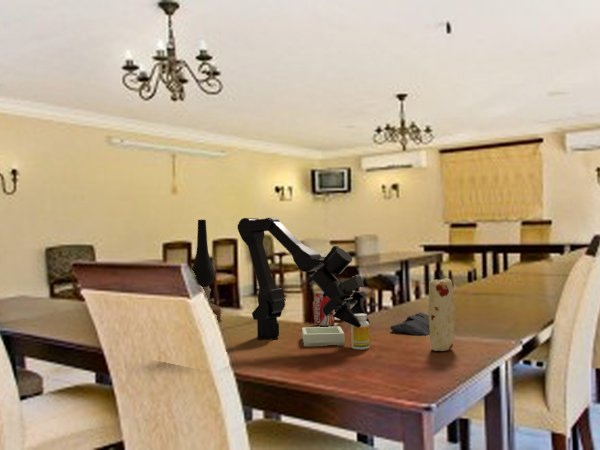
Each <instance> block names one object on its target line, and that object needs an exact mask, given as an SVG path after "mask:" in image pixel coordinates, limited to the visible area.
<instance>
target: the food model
mask: <svg viewBox="0 0 600 450" xmlns="http://www.w3.org/2000/svg"><path fill="white" fill-rule="evenodd" d="M428 284H429V286H428V288H429V289H428V290H429V291H428V312H427V313H428V314H427V315H429V328H430V335H429V342H430V343H429V344H430V345H429V346H430V350H431V351H432V350H433V351H435V352H437V351H439V352H444V351H445V352H446V351H449V350H451V349H453V347H454V344H453V343H454V333H455V323H456V307H455V298H454V297H455V296H454V288H453V287H454V286H453V282H452V280H451V278H448V277H446V278H442V279H433V280H432V281H431V280H430V281H429V283H428Z"/></svg>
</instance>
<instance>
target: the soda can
mask: <svg viewBox="0 0 600 450" xmlns="http://www.w3.org/2000/svg"><path fill="white" fill-rule="evenodd" d="M323 294H324V292H323V291H322V290H321V291H315V294H314V297H313V317H314V319H313V320H314V325H316V326H317V325H319V326H318V327H320V326H328V327H332V325H333V324H335V323H334V322H335V317H333V315H334V314H335V312H334V311H335V310H333V311H332V315H331V316H329V317H326V316H325V315H324V314H323V312H322V308H323V306H324V305H325V304H326V303H327V302H328V301H329V298H328V297H325V298H324V297H323Z"/></svg>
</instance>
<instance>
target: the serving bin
mask: <svg viewBox="0 0 600 450" xmlns="http://www.w3.org/2000/svg"><path fill="white" fill-rule="evenodd" d="M345 336H346V334H345V332H344V331H343V329H342V327H341V326H339V325H337V326H328V327H320V326H312V327H311V326H307V327H306V326H304V327H302V328H301V339H303V340H302V343H304V344H303V346H304V347H325V346H326V347H328V346H327V345H337V346H345V345H346V344H345V343H346V342H345V341H346V339H345Z"/></svg>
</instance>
